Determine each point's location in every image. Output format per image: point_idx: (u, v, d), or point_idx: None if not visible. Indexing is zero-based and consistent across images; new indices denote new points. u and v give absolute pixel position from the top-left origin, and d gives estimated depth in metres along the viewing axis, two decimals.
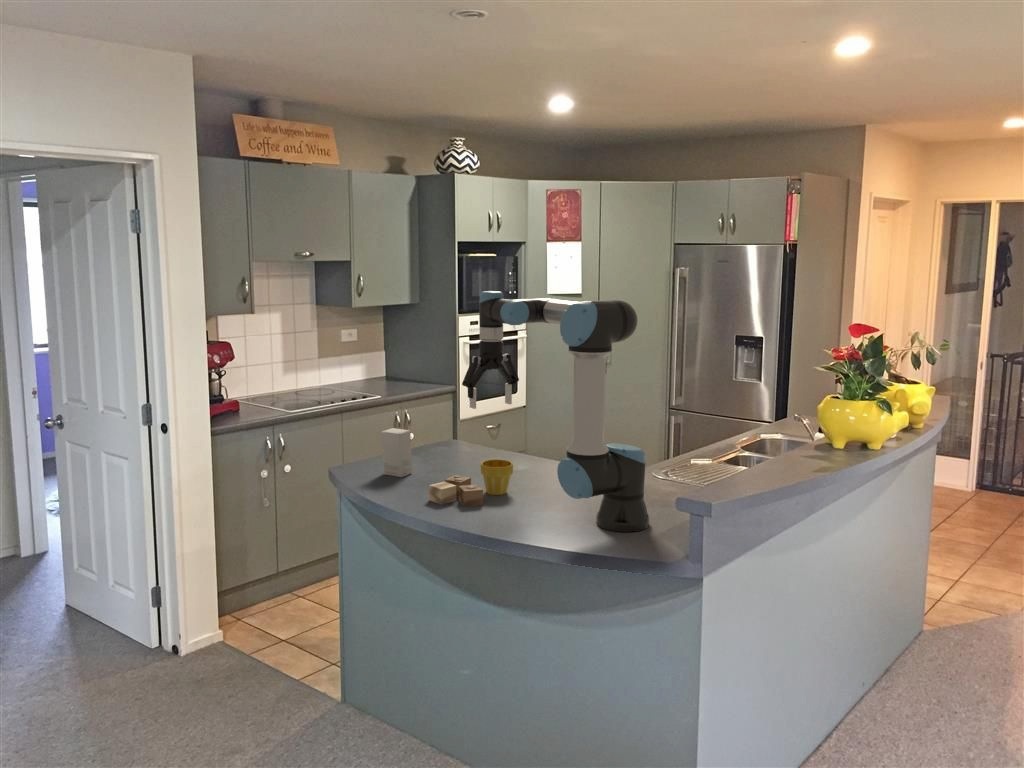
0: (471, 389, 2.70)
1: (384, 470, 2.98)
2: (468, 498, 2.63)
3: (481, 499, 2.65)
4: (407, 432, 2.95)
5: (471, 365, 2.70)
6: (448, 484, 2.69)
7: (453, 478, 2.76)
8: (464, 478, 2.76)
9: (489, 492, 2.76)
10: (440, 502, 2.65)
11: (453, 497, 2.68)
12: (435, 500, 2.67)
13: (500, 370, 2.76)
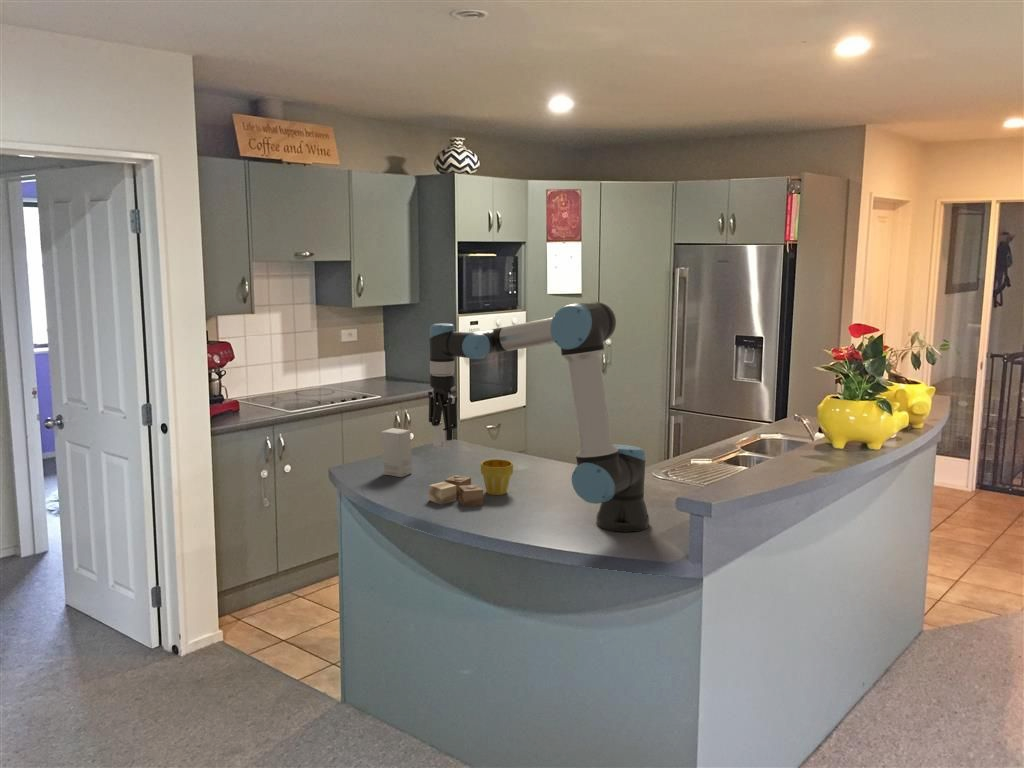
0: None
1: (384, 470, 2.98)
2: (468, 499, 2.63)
3: (481, 499, 2.65)
4: (407, 432, 2.95)
5: None
6: (448, 484, 2.69)
7: (453, 478, 2.76)
8: (464, 478, 2.76)
9: (489, 492, 2.76)
10: (440, 502, 2.65)
11: (453, 497, 2.68)
12: (435, 500, 2.67)
13: None
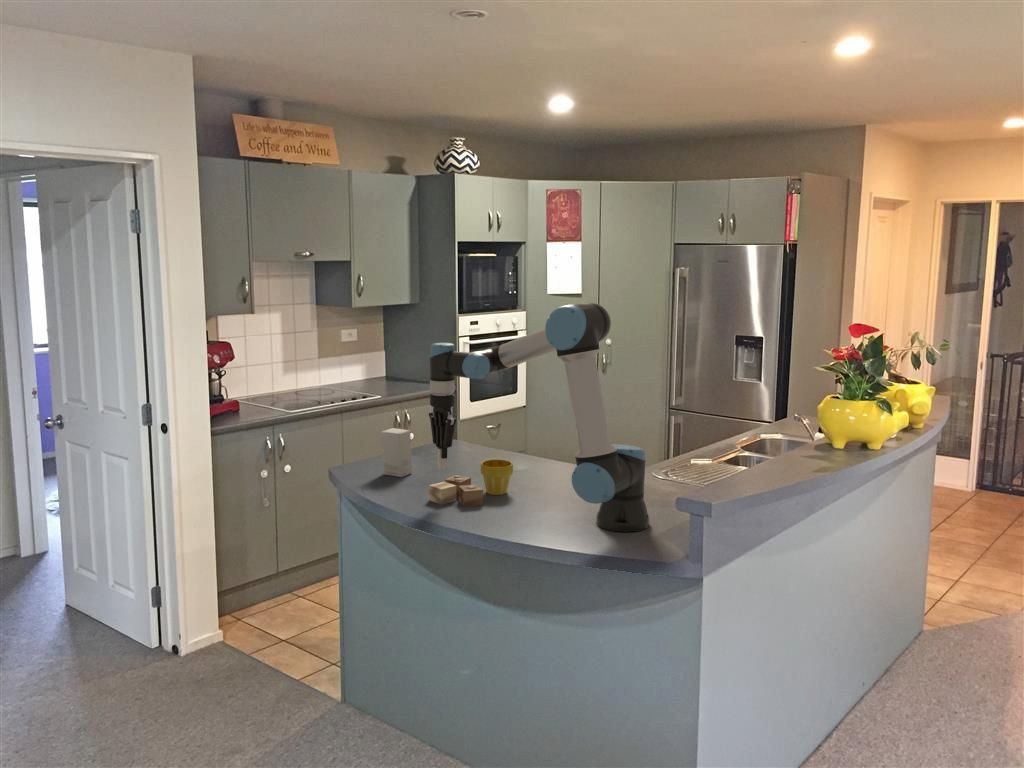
0: (437, 448, 2.67)
1: (384, 470, 2.98)
2: (468, 498, 2.63)
3: (481, 499, 2.65)
4: (407, 432, 2.95)
5: None
6: (448, 484, 2.69)
7: (453, 478, 2.76)
8: (464, 478, 2.76)
9: (489, 492, 2.76)
10: (440, 502, 2.65)
11: (453, 497, 2.68)
12: (435, 500, 2.67)
13: None
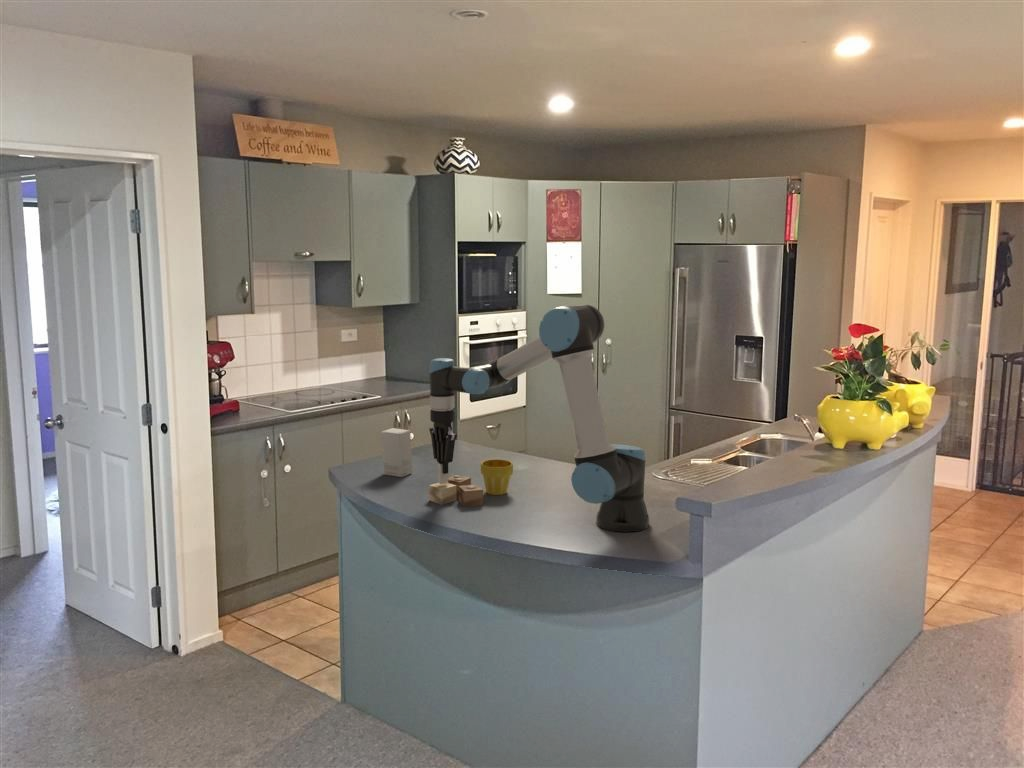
0: (438, 463, 2.68)
1: (384, 470, 2.98)
2: (468, 499, 2.63)
3: (481, 499, 2.65)
4: (407, 432, 2.95)
5: None
6: (448, 484, 2.69)
7: (453, 478, 2.76)
8: (464, 478, 2.76)
9: (489, 492, 2.76)
10: (440, 502, 2.65)
11: (453, 497, 2.68)
12: (435, 500, 2.67)
13: None
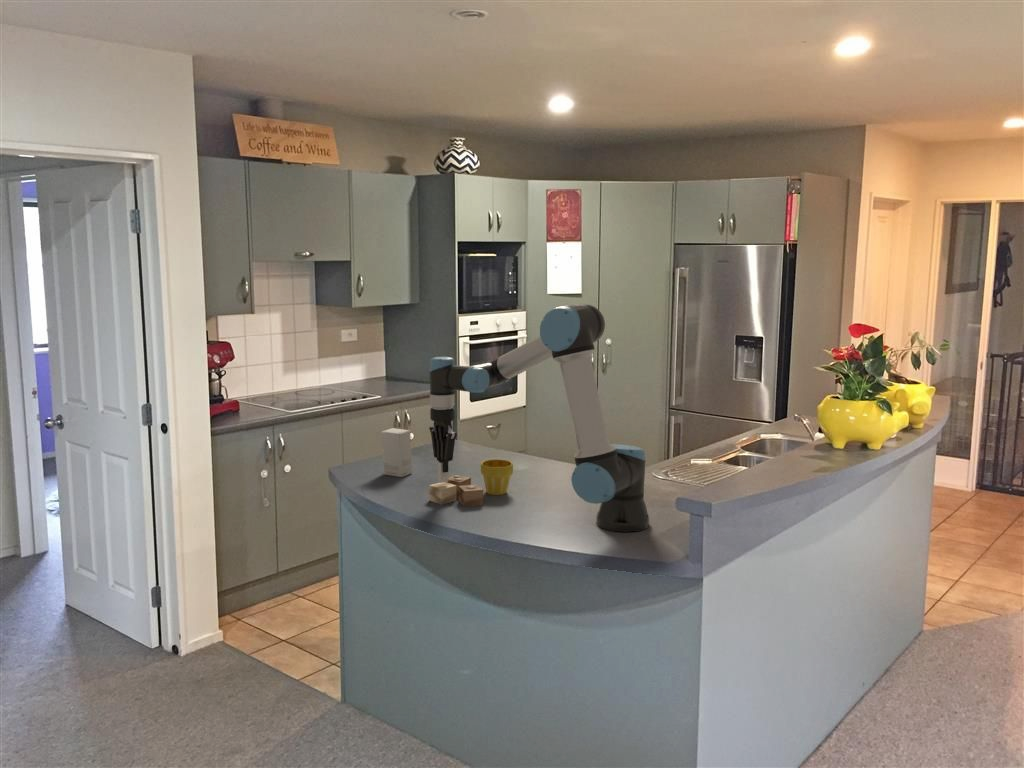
0: (438, 461, 2.68)
1: (384, 470, 2.98)
2: (468, 499, 2.63)
3: (481, 499, 2.65)
4: (407, 432, 2.95)
5: None
6: (448, 484, 2.69)
7: (453, 478, 2.76)
8: (464, 478, 2.76)
9: (489, 492, 2.76)
10: (440, 502, 2.65)
11: (453, 496, 2.68)
12: (435, 500, 2.67)
13: None
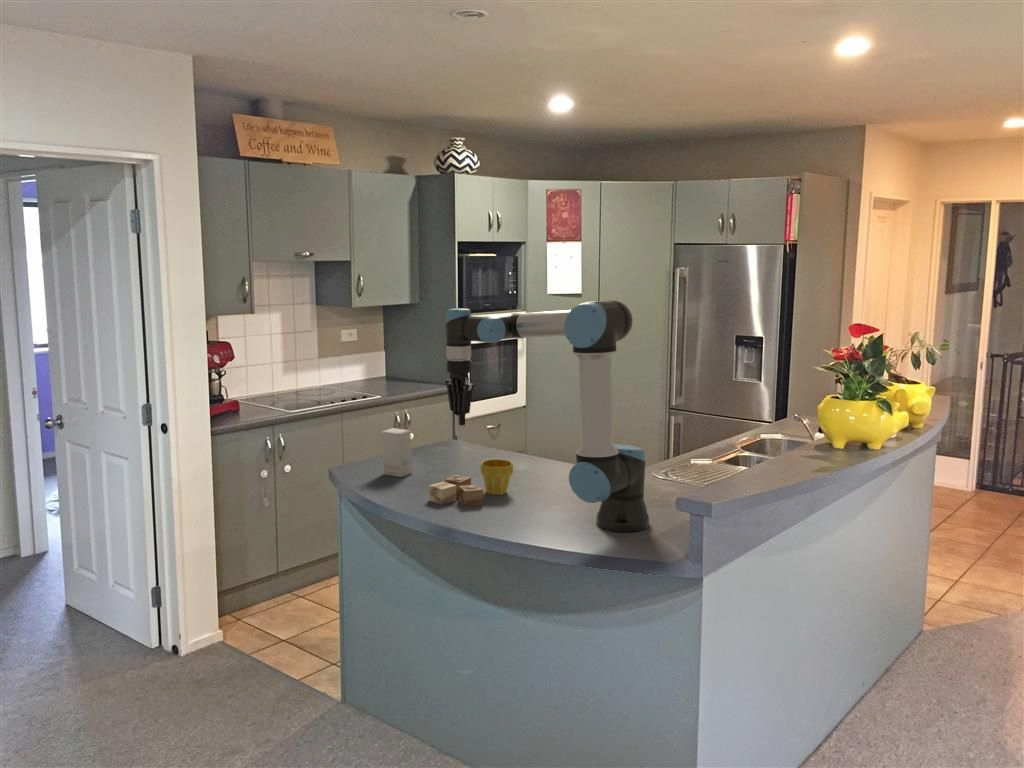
0: (455, 415, 2.65)
1: (384, 470, 2.98)
2: (468, 499, 2.63)
3: (481, 499, 2.65)
4: (407, 432, 2.95)
5: None
6: (448, 484, 2.69)
7: (453, 478, 2.76)
8: (464, 478, 2.76)
9: (489, 492, 2.76)
10: (440, 502, 2.65)
11: (453, 496, 2.68)
12: (435, 500, 2.67)
13: None
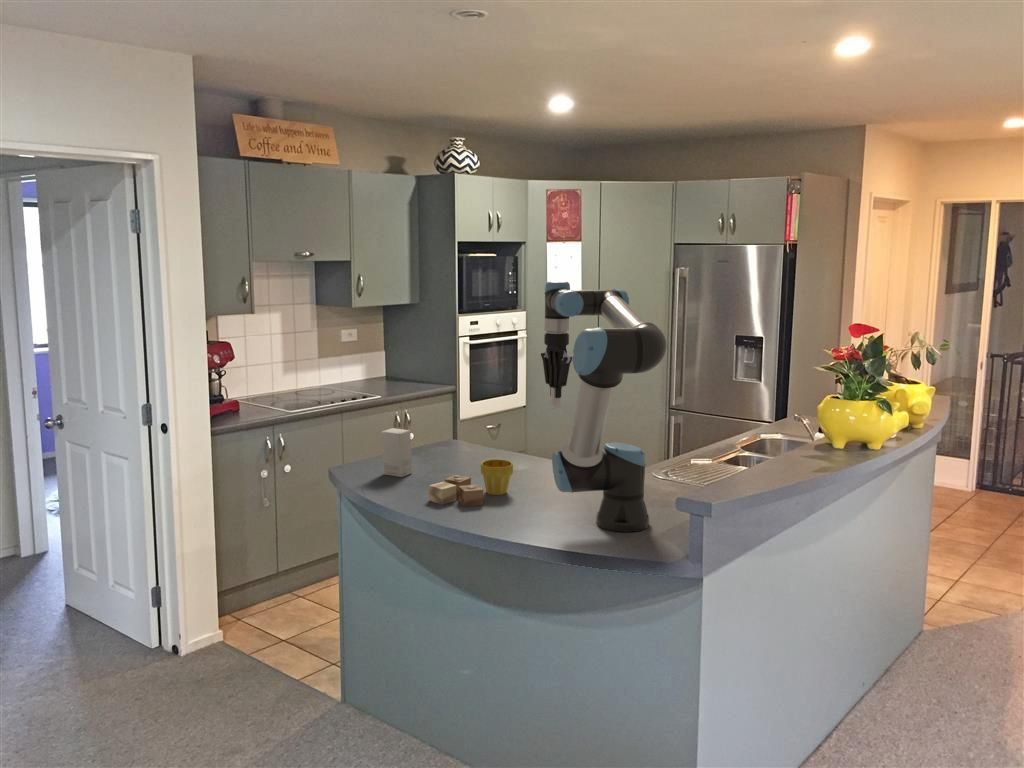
0: (551, 387, 2.66)
1: (384, 470, 2.98)
2: (469, 499, 2.63)
3: (481, 499, 2.65)
4: (407, 432, 2.95)
5: None
6: (448, 484, 2.69)
7: (453, 478, 2.76)
8: (464, 478, 2.77)
9: (489, 492, 2.76)
10: (440, 502, 2.65)
11: (453, 496, 2.68)
12: (436, 500, 2.67)
13: None
